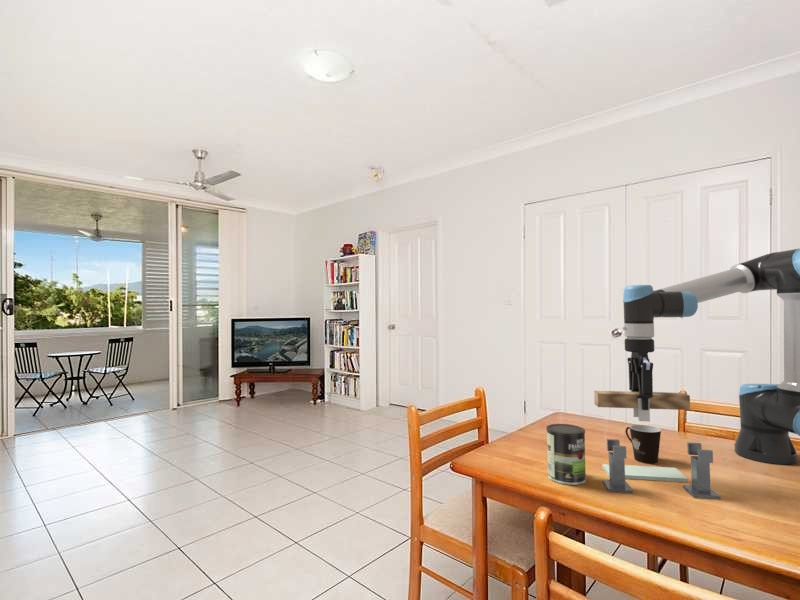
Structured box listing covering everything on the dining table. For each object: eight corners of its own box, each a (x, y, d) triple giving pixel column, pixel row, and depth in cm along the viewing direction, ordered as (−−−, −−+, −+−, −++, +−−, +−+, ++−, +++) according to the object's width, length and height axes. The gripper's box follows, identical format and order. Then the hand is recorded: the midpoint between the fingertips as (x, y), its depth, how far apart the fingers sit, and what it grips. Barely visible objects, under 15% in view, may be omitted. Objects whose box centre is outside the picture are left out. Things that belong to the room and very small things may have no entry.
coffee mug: (666, 466, 128) (665, 432, 128) (635, 464, 129) (634, 431, 129) (651, 453, 139) (651, 422, 139) (623, 451, 141) (622, 421, 141)
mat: (675, 471, 123) (675, 467, 123) (688, 482, 115) (688, 478, 115) (602, 467, 127) (602, 464, 127) (609, 477, 119) (609, 474, 119)
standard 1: (625, 483, 115) (624, 439, 115) (633, 494, 109) (632, 447, 109) (602, 482, 116) (601, 438, 117) (608, 492, 110) (607, 446, 110)
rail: (683, 406, 121) (683, 392, 122) (690, 410, 117) (689, 395, 118) (594, 404, 126) (594, 390, 126) (598, 407, 122) (597, 393, 122)
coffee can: (594, 480, 118) (593, 430, 118) (568, 488, 113) (567, 435, 113) (564, 468, 127) (563, 421, 127) (539, 475, 122) (538, 426, 122)
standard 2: (707, 488, 111) (706, 443, 111) (721, 499, 105) (719, 451, 105) (682, 487, 112) (681, 442, 113) (694, 497, 106) (692, 450, 106)
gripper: (616, 336, 131) (618, 411, 131) (635, 340, 115) (637, 426, 114) (642, 336, 130) (644, 412, 129) (665, 340, 113) (668, 427, 113)
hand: (641, 418), depth 122 cm, fingers closed on rail, 4 cm apart
